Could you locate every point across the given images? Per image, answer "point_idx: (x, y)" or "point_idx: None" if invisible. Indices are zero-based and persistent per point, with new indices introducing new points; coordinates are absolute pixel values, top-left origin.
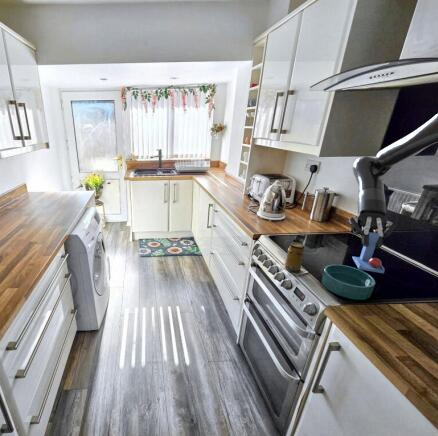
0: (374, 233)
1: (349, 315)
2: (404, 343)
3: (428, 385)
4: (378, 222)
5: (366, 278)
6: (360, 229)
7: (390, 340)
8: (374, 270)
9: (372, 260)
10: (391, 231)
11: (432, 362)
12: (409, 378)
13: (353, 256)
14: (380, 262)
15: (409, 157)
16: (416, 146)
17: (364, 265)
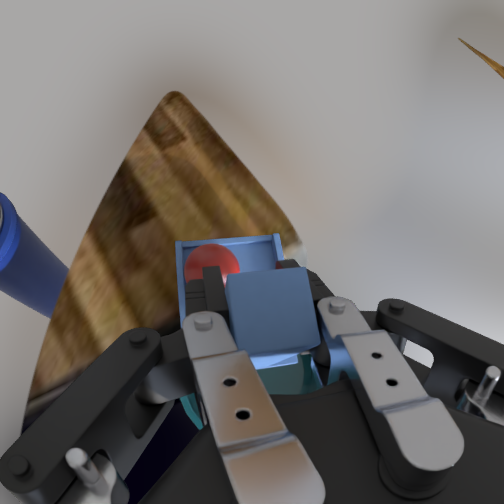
0: (265, 323)
1: (252, 222)
2: (155, 179)
3: (160, 109)
4: (263, 438)
5: (194, 409)
6: (399, 318)
7: (180, 175)
8: (214, 240)
9: (230, 252)
10: (93, 368)
11: (128, 153)
12: (181, 109)
13: (294, 361)
14: (192, 253)
15: None
16: None
17: (251, 271)
